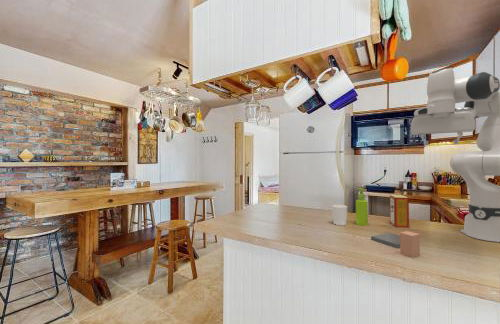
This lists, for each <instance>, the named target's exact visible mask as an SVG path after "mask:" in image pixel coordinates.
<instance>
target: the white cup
mask: <svg viewBox="0 0 500 324" xmlns="http://www.w3.org/2000/svg"><path fill="white" fill-rule="evenodd" d="M331 209H332V210H331V211H332V219H333V220H332V222H333V225H335V224H336V226H347V217H348V216H347V215H348V206H347V205H345V204H344V205H343V204H332V206H331Z"/></svg>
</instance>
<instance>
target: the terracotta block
mask: <svg viewBox="0 0 500 324" xmlns="http://www.w3.org/2000/svg"><path fill="white" fill-rule="evenodd" d="M399 236H400V248H399V254H401V255H404V256H406V257H410V258H416V257H419V256H421V253H420V252H421V250H420V248H421V247H420V246H421V244H420V241H421V239H420V238H421V236H420V233H416V232H413V231H409V230H404V231H401V232H400V233H399Z"/></svg>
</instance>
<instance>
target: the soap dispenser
mask: <svg viewBox="0 0 500 324" xmlns="http://www.w3.org/2000/svg"><path fill="white" fill-rule="evenodd" d="M356 190H359V193H358V194H357V199H356V200H355V224H356V225H357V226H362V227H363V226H365V227H366V226H367V227H368V225H369V221H368V220H369V219H368V218H369V217H368V202H369V201H368V200H366V194H364V191H365V187H364V188H363V187H356Z"/></svg>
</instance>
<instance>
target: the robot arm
mask: <svg viewBox="0 0 500 324" xmlns="http://www.w3.org/2000/svg"><path fill="white" fill-rule="evenodd" d="M426 85H427V86H426V95H427V97H428V99H427V103H426V106H425V107H422V108H420V109H416V110H415V111H414V112H413V116H414V117H413V118H412V120H411V124H410V134H411V135H413V136H414V135H415V136H417V135H420V138H421V139H422V141H423V146H429V140H426V138H425V137H426V135H436V134H452V133H455V134H456V133H457V136H458V137H457V138H455V139H453V145H459V144H460V139H461V138H462V137H463V135H464V133H469V132H470V133H471V132H474V130H475V129H476V120H475V119H478V118H484V117H487V118H486V119H485V120H484V122H483V124H481V127H480V130H479V133H478V136H477V139H476V143H475V144H476V146H477V147H478V149H480V150H479V151H476V150H475V151H474V150H473V151H464V152H458V153H454V155H452V157H451V158H450V161H449V166H450V168H451V170H452V171H453V172H455V173H456V175H459V176H460V177H461V178H462V179H463V180H464V182H465V184H466V185H467V188H468V192H469V193H468V194H469V204H468V207H467V209H468V214H466V215H465V216H464V226H463V227H464V228H461V229H460V232H461V233H463V234H465V235H466V236H468V237H470V238H473V239H477V240H481V241H486V242H487V241H488V242H496V243H497V242H498V243H500V185H497V184H495V183H493V182H490V181H489V180H488V179H487V178H486V176H498V177H500V80H499V78H498V77H496V76H493V75H492V74H490V73H488V72H485V71H482V72H478V73H475V74H471V75H468V76H464V77H459V78H456V79H455V72H454V69H453V67H447V68H440V69H437V70H434V71H431V73H429V74H428V77H427V84H426ZM460 103H461V104H462V103H464V104H463V105H464V106H463V107H458V108H456V104H460Z"/></svg>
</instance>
